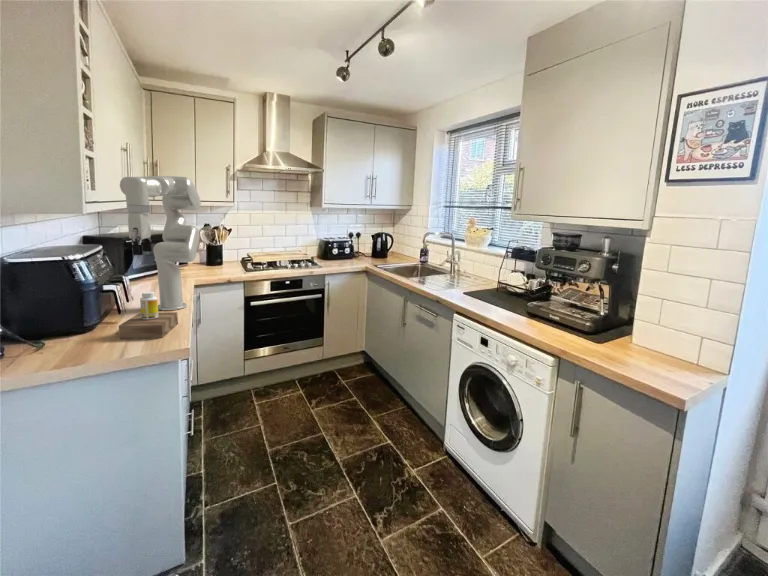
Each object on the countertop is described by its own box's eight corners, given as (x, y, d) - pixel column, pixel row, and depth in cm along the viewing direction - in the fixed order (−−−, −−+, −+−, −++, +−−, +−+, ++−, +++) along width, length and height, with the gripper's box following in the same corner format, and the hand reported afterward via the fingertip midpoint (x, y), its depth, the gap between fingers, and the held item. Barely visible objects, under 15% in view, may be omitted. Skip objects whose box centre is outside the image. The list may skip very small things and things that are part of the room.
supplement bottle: (161, 316, 147) (159, 291, 145) (154, 320, 141) (152, 293, 140) (145, 316, 146) (143, 290, 144) (138, 320, 141) (136, 293, 139)
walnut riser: (140, 324, 152) (139, 313, 151) (178, 323, 155) (177, 312, 154) (120, 339, 134) (118, 325, 133) (162, 337, 137) (161, 324, 136)
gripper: (136, 208, 154) (140, 250, 157) (117, 210, 137) (123, 256, 141) (156, 209, 155) (160, 250, 159) (140, 210, 139) (145, 256, 143)
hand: (143, 253), depth 150 cm, fingers open, 9 cm apart
